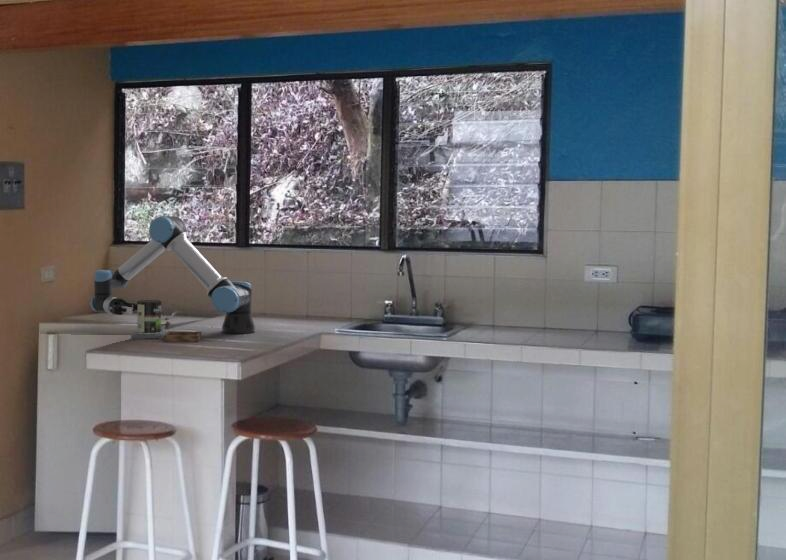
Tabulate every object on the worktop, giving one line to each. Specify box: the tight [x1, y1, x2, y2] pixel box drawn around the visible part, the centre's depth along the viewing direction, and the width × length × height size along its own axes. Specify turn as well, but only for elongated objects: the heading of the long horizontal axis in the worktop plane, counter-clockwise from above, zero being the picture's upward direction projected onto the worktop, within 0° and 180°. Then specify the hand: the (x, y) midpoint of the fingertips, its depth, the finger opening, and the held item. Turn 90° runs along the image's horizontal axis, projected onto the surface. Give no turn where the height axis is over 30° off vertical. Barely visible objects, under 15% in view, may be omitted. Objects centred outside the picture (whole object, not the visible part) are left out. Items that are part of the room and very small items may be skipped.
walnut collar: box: [163, 331, 203, 343], centre depth 392 cm, size 14×14×2 cm
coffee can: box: [136, 299, 162, 335], centre depth 398 cm, size 10×10×14 cm
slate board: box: [130, 330, 167, 340], centre depth 399 cm, size 13×13×2 cm
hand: (145, 309), depth 399 cm, fingers open, 13 cm apart
